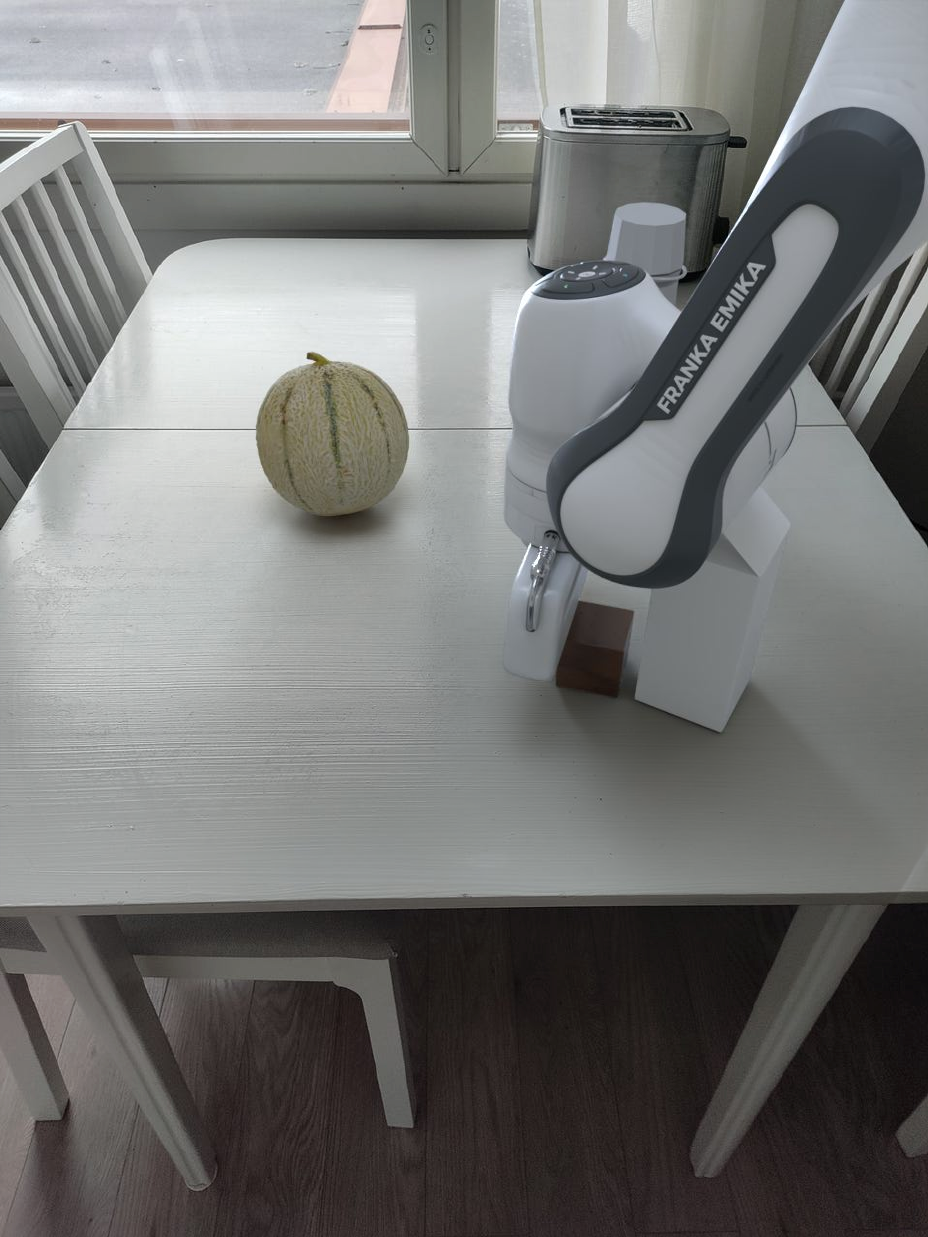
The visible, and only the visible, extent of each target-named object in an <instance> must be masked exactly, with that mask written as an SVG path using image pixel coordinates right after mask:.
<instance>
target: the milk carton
mask: <svg viewBox="0 0 928 1237" xmlns="http://www.w3.org/2000/svg"><path fill="white" fill-rule="evenodd" d="M791 526H792V525H791V522H790V521H789V520H788V518H787V517H786V516H785V515H784V513H783V512H782V511H781V510H780V508H779V507H778V506H777V505H776V503H775V502H774V501H773V500H772V498H771V497H770V496H769V495H768V493H767V492H766V491H765V489H764V488H763V487H762V486H761V485H760V486H759V488H758V489H757V490H756V492H755V493H754V494H753V495H752V497H751V498H750V499H749V500H748V502H747V503H746V504H745V505H744V507H743V508H742V509H741V510H740V512H739V513H738V514H737V515H736V517H735V518H734V519H733V520H732V522H731V523H730V524H729V525H728V527H727V528H726V529H725V530H724V532H723V533H722V534H721V535H720V537H719V540H718V541H717V543H716V545H715V546H714V548H713V549H712V551H711V552H710V554H709V555H708V557H707V558H706V560H705V562H704V563H703V565H702V566H701V568H700V569H699V570H698V571H697V572H696V573H695V574H694V575H693V576H692V577H691V578H690V579H688V580H686V581H685V582H683V583H681V584H678V585H676V586H672V587H668V588H661V589H651V593H650V599H649V604H648V611H647V618H646V624H645V629H644V637H643V641H642V642H643V643H642V649H641V655H640V660H639V667H638V672H637V673H638V674H637V679H636V680H637V681H636V687H635V691H634V700H636V701H638V702H641V703H643V704H645V705H648V706H651V707H654V708H656V709H658V710H662V711H664V712H666V713H669V714H671V715H674V716H676V717H679V718H682V719H685V720H687V721H690V722H692V723H694V724H697V725H699V726H703V727H705V728H708V729H709V730H713V731H715V732H718V733H722V732H723V731H724V729H725V727H726V726H727V724H728V722H729V720H730V719H731V716H732V714H733V713H734V710H735V708H736V707H737V705H738V703H739V701H740V699H741V697H742V696H743V693H744V691H745V689H746V687H747V686H748V684H749V681H750V679H751V677H752V672H753V670H754V665H755V663H756V662H755V661H756V659H757V658H756V657H757V654H758V650H759V646H760V642H761V639H762V635H763V631H764V628H765V624H766V620H767V617H768V613H769V609H770V605H771V601H772V599H773V598H772V597H773V593H774V589H775V586H776V582H777V579H778V574H779V571H780V567H781V564H782V560H783V556H784V552H785V548H786V545H787V541H788V537H789V533H790V530H791Z"/></svg>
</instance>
